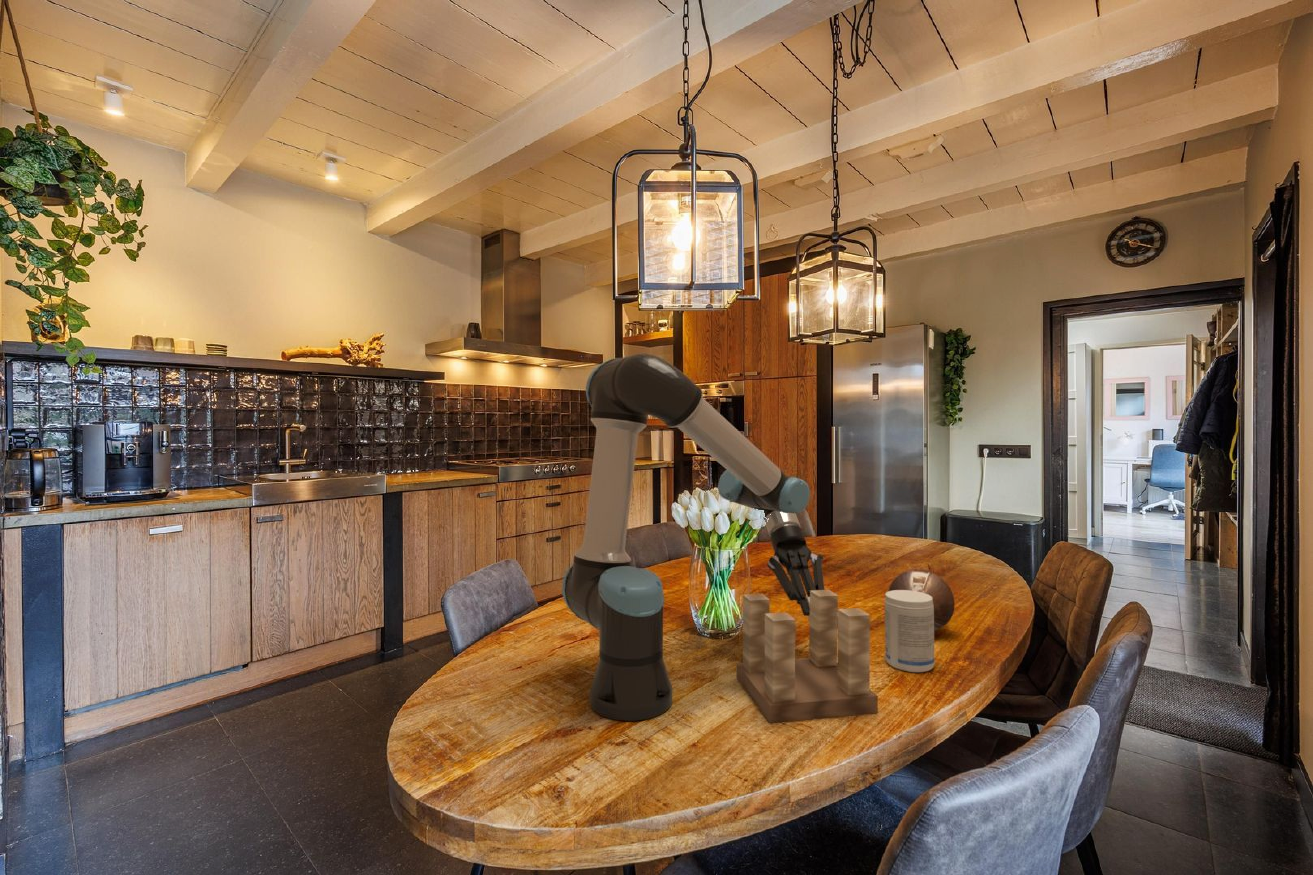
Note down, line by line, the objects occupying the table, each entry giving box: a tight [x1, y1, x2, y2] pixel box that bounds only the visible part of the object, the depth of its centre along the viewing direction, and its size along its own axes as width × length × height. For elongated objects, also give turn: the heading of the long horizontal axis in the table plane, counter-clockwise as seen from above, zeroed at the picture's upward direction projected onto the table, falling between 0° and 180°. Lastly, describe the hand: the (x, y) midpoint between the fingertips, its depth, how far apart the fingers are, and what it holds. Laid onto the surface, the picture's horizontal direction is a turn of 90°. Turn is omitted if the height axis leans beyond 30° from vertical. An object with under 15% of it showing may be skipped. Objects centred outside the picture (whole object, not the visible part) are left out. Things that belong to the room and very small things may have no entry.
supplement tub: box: [884, 590, 935, 673], centre depth 123 cm, size 10×10×15 cm
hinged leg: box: [808, 589, 839, 667], centre depth 117 cm, size 4×4×14 cm
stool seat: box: [735, 593, 879, 724], centre depth 109 cm, size 20×18×17 cm
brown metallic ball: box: [887, 568, 956, 632], centre depth 144 cm, size 15×15×15 cm
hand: (818, 628), depth 120 cm, fingers closed
